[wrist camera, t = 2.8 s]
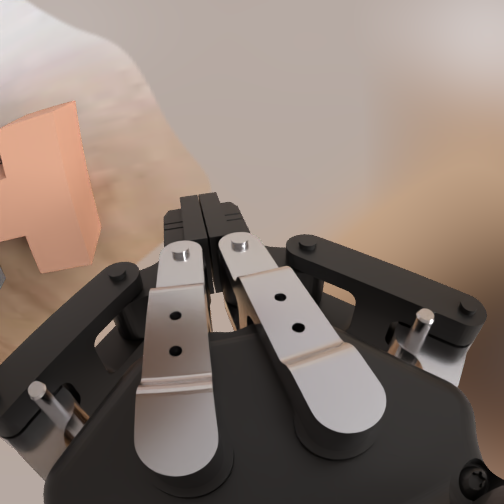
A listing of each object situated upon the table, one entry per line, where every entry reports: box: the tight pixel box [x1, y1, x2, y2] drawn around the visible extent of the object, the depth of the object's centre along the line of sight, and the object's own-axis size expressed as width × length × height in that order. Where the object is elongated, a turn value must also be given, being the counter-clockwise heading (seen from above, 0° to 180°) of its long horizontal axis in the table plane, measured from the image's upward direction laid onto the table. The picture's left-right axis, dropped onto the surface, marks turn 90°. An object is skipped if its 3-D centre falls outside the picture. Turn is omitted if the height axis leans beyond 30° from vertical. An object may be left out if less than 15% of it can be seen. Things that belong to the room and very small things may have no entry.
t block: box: [0, 101, 102, 274], centre depth 17 cm, size 10×10×5 cm
